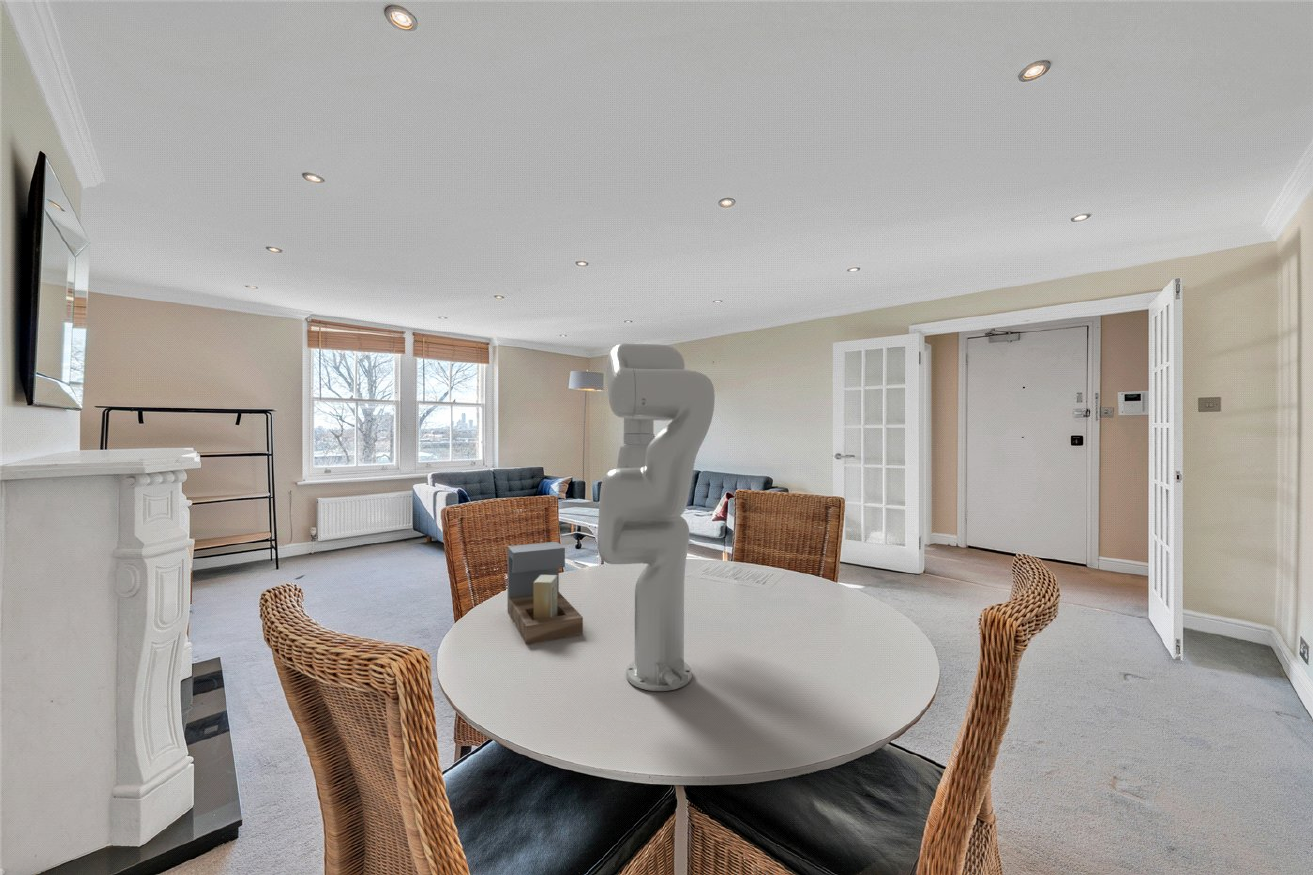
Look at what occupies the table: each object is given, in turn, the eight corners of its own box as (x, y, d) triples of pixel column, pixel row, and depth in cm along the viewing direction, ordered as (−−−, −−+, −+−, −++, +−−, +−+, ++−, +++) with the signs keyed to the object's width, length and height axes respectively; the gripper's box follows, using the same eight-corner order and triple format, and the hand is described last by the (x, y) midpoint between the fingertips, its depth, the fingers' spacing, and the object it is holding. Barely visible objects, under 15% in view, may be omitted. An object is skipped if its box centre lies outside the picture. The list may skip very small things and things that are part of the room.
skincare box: (540, 623, 129) (540, 573, 128) (558, 624, 128) (558, 574, 128) (532, 634, 122) (532, 581, 122) (551, 634, 122) (551, 582, 122)
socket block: (582, 634, 122) (582, 617, 122) (526, 644, 116) (526, 626, 116) (558, 606, 141) (558, 591, 141) (508, 613, 135) (508, 598, 135)
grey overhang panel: (564, 613, 136) (564, 547, 135) (513, 621, 130) (513, 552, 130) (556, 604, 143) (556, 541, 143) (507, 611, 137) (507, 546, 137)
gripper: (661, 440, 139) (661, 505, 140) (600, 441, 131) (600, 509, 132) (675, 441, 133) (675, 508, 133) (612, 441, 125) (612, 513, 125)
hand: (638, 509), depth 132 cm, fingers open, 9 cm apart
